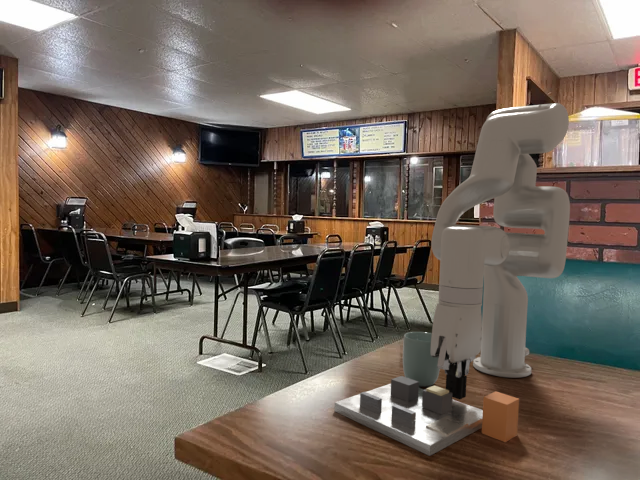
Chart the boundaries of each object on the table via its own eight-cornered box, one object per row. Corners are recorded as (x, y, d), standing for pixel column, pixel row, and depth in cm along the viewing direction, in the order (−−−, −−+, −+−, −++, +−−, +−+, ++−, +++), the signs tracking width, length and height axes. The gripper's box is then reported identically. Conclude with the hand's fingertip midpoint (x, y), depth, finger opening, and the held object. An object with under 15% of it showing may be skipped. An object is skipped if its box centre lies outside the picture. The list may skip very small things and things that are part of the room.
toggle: (400, 391, 91) (401, 375, 91) (418, 397, 88) (418, 381, 88) (390, 395, 89) (391, 379, 89) (408, 401, 86) (408, 385, 86)
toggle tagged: (432, 403, 86) (432, 384, 85) (451, 410, 83) (452, 390, 82) (421, 407, 84) (422, 388, 83) (441, 414, 81) (442, 394, 80)
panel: (398, 388, 97) (399, 369, 97) (491, 422, 82) (492, 399, 82) (334, 411, 85) (335, 389, 84) (429, 455, 70) (430, 429, 70)
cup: (440, 392, 96) (442, 342, 95) (401, 388, 97) (403, 339, 96) (438, 379, 103) (441, 333, 103) (402, 375, 105) (404, 330, 104)
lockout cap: (493, 426, 81) (495, 391, 80) (517, 435, 78) (519, 398, 77) (481, 433, 78) (483, 396, 78) (505, 442, 75) (507, 404, 75)
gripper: (464, 289, 94) (459, 381, 95) (417, 296, 84) (413, 399, 85) (500, 295, 88) (495, 393, 89) (455, 303, 78) (450, 413, 79)
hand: (455, 396), depth 87 cm, fingers closed
